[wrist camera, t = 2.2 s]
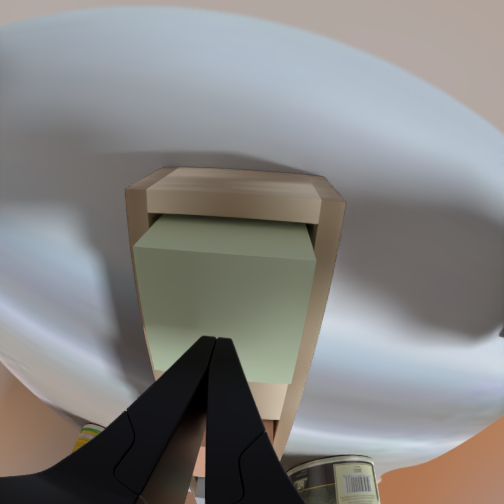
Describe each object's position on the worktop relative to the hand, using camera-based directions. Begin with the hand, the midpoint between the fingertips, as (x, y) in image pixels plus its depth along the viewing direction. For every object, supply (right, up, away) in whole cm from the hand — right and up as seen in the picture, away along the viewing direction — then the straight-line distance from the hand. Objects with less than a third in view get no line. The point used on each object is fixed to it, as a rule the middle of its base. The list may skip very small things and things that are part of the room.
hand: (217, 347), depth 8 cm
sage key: (0, +2, +4) cm, 5 cm away
